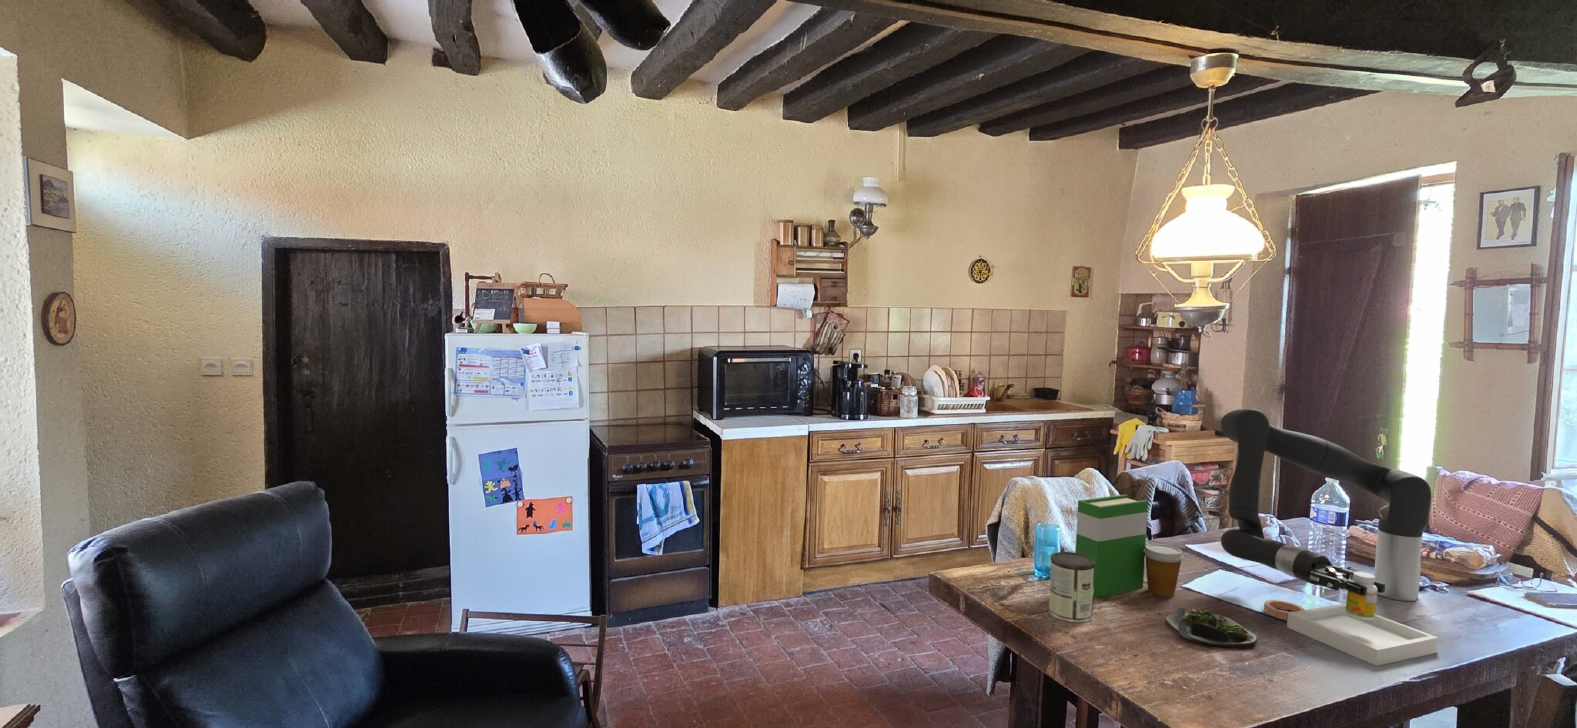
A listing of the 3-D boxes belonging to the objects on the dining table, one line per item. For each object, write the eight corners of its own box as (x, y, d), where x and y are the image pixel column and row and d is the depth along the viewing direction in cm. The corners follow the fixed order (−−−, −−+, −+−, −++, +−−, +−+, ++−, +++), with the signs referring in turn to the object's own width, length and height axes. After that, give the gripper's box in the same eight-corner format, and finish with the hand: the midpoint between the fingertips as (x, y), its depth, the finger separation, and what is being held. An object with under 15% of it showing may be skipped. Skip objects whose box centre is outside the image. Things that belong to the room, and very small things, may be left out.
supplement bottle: (1339, 610, 176) (1343, 570, 175) (1360, 610, 176) (1365, 569, 175) (1358, 620, 170) (1363, 578, 169) (1380, 620, 171) (1385, 578, 170)
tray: (1344, 616, 186) (1346, 603, 186) (1437, 652, 167) (1438, 637, 167) (1286, 627, 180) (1287, 612, 179) (1376, 665, 161) (1377, 649, 160)
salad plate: (1146, 613, 187) (1147, 595, 186) (1218, 615, 187) (1219, 597, 187) (1188, 649, 168) (1189, 629, 167) (1268, 650, 168) (1269, 630, 167)
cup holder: (1280, 605, 193) (1280, 598, 193) (1312, 618, 185) (1313, 611, 185) (1256, 609, 190) (1256, 602, 190) (1288, 622, 182) (1288, 615, 182)
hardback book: (1120, 578, 210) (1125, 494, 208) (1142, 587, 203) (1148, 500, 201) (1073, 587, 202) (1078, 500, 200) (1095, 597, 196) (1100, 507, 194)
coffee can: (1058, 602, 192) (1061, 548, 191) (1099, 614, 185) (1102, 558, 184) (1040, 613, 185) (1043, 558, 184) (1082, 626, 178) (1085, 568, 177)
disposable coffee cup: (1186, 601, 194) (1188, 556, 193) (1146, 597, 196) (1149, 553, 195) (1175, 587, 204) (1177, 544, 203) (1137, 584, 206) (1139, 541, 205)
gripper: (1282, 551, 183) (1354, 577, 167) (1324, 546, 188) (1398, 570, 172) (1279, 581, 184) (1351, 609, 168) (1321, 575, 189) (1394, 602, 173)
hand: (1374, 589), depth 170 cm, fingers closed on supplement bottle, 5 cm apart
